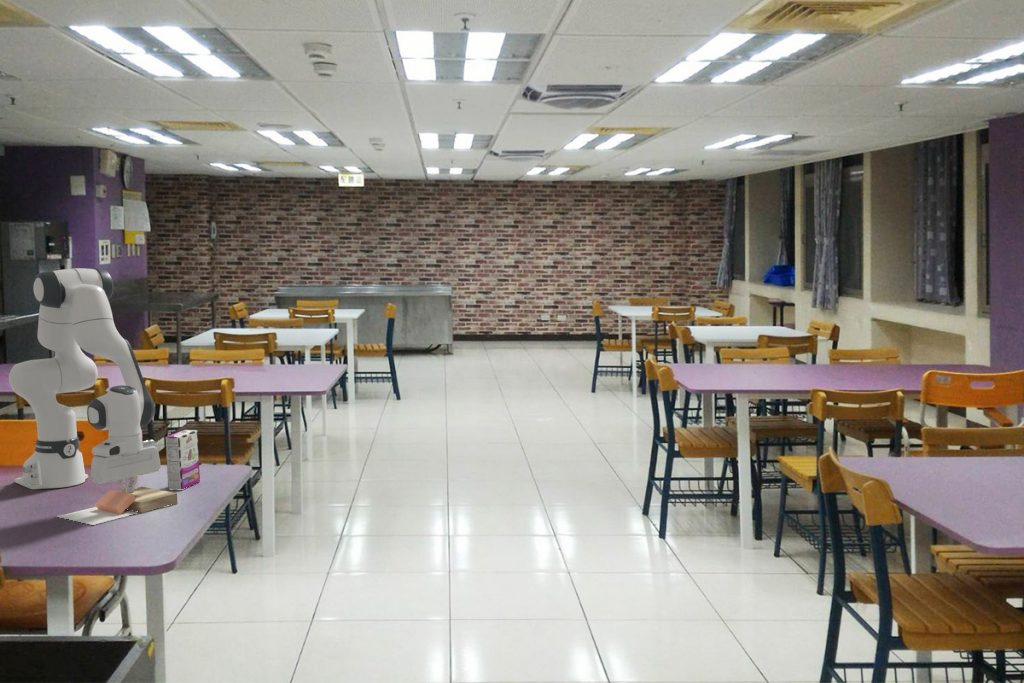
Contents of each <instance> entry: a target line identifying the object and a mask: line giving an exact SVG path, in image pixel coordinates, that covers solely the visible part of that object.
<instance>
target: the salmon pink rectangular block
mask: <svg viewBox="0 0 1024 683" xmlns="http://www.w3.org/2000/svg"><path fill="white" fill-rule="evenodd" d="M135 500H136V498H135V497H134V495H133V494H130V493H126V492H121V490H120V491H119V490H115V489H109V490H108V491H107V492H106V493H105V494H104V495H103V496H101V498H99V499H98V500H97V501H96V502H95V503H94V505H95V506H94V507H97V508H98V509H99V510H103V511H108V512H112V513H116V514H121V513H122V512H123V511H124V510H125V509H127V508H128V507H129V506H130V505H131V504H132V503H133V502H134V501H135Z"/></svg>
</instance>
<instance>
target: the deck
mask: <svg viewBox="0 0 1024 683" xmlns="http://www.w3.org/2000/svg"><path fill="white" fill-rule="evenodd" d="M120 491H121V490H120ZM121 492H122V491H121ZM130 494H133V495H134V497H135V498H136V500H135V501H134V502H133V503H132V504H131V505H130V506H129V507H128V508H127V509H128V510H127V511H129V510H133V511H132V512H134V511H138V512H144V513H147V512H146V511H148V512H150V511H149V510H152V511H154V510H153V509H156V508H159V509H161V508H160V507H163V508H165V507H164V506H167V505H171V504H175V505H177V504H178V493H177V492H172V491H167V490H162V489H157V488H150V487H145V486H139V487H134V493H130ZM176 503H177V504H176ZM171 506H172V505H171ZM167 507H168V506H167ZM156 510H157V509H156ZM138 512H137V513H138Z"/></svg>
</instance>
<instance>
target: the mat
mask: <svg viewBox="0 0 1024 683" xmlns="http://www.w3.org/2000/svg"><path fill="white" fill-rule="evenodd" d="M137 513H138V512H134V511H129V510H124V511H123V512H122V513H121V514H116V513H112V512H108V511H103V510H99V509H98V508H97V507H96V506H94V507H89V508H86V509H81V510H77V511H74V512H69V513H66V514H65V513H64V514H61V515H57V516H56V518H57V517H59V518H58V519H61V518H64V519H63V520H66V519H69V520H68V521H70V520H73V521H72V522H74V521H78V522H81V523H80V524H82V523H86V524H85V525H87V524H90V525H89V526H91V525H94V526H97V525H96V524H98V525H101V524H100V523H102V524H105V523H104V522H106V523H109V522H108V521H110V522H112V521H111V520H113V521H116V520H115V519H117V520H119V519H118V518H121V517H125V516H129V515H133V514H136V515H138V514H137ZM133 516H134V515H133ZM129 517H130V516H129ZM125 518H126V517H125ZM121 519H122V518H121ZM78 522H77V523H78Z"/></svg>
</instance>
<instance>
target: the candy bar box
mask: <svg viewBox="0 0 1024 683" xmlns="http://www.w3.org/2000/svg"><path fill="white" fill-rule="evenodd" d="M164 440H165V454H166V471H167V488H169V489H184V488H186V487H189V486H191V485H193V484H195V485H197V484H199V483H200V482H201V475H200V459H199V458H200V457H199V456H200V455H199V439H198V430H197V429H196V430H195V429H184V430H181V431H178V432H175V433H173V434H169V435H168V436H165V437H164ZM198 482H199V483H198ZM196 483H197V484H196ZM193 486H194V485H193ZM191 487H192V486H191ZM189 488H190V487H189ZM169 489H168V490H169ZM184 490H185V489H184Z"/></svg>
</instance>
